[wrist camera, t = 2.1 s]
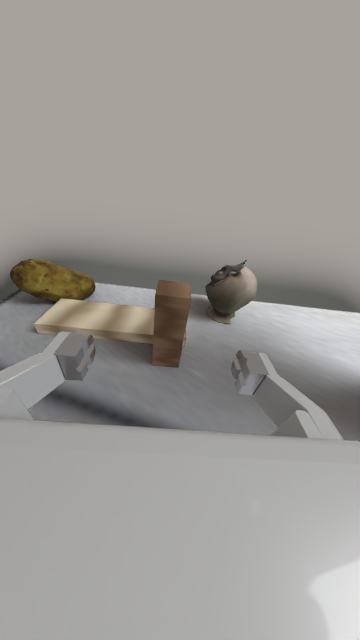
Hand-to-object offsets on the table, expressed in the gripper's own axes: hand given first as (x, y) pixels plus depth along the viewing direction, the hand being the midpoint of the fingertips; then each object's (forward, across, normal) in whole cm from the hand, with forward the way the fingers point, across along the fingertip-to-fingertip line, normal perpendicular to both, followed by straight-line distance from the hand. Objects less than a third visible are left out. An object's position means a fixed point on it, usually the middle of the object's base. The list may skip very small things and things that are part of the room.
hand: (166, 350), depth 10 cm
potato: (+26, +22, +15) cm, 37 cm away
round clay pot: (+27, -12, +14) cm, 33 cm away
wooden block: (+16, -1, +14) cm, 21 cm away
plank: (+19, +8, +14) cm, 25 cm away
